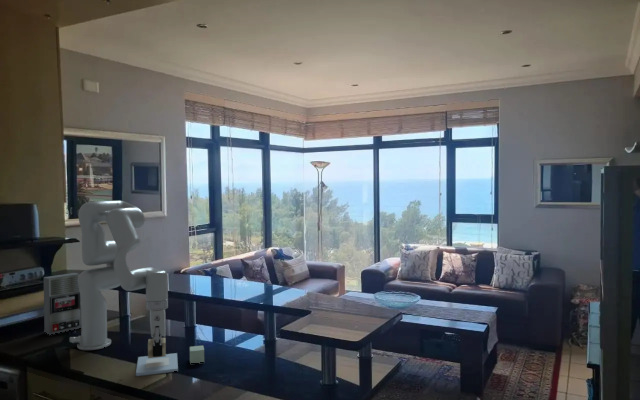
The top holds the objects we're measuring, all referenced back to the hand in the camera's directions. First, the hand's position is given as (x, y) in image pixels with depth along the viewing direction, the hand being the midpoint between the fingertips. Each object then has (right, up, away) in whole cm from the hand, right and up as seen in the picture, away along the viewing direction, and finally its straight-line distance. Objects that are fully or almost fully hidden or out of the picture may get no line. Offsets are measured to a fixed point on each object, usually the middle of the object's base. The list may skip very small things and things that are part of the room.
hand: (157, 352), depth 174 cm
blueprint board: (0, -5, 0) cm, 5 cm away
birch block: (0, -1, 0) cm, 1 cm away
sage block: (+13, -5, +5) cm, 15 cm away
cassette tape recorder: (-56, -3, +40) cm, 69 cm away
